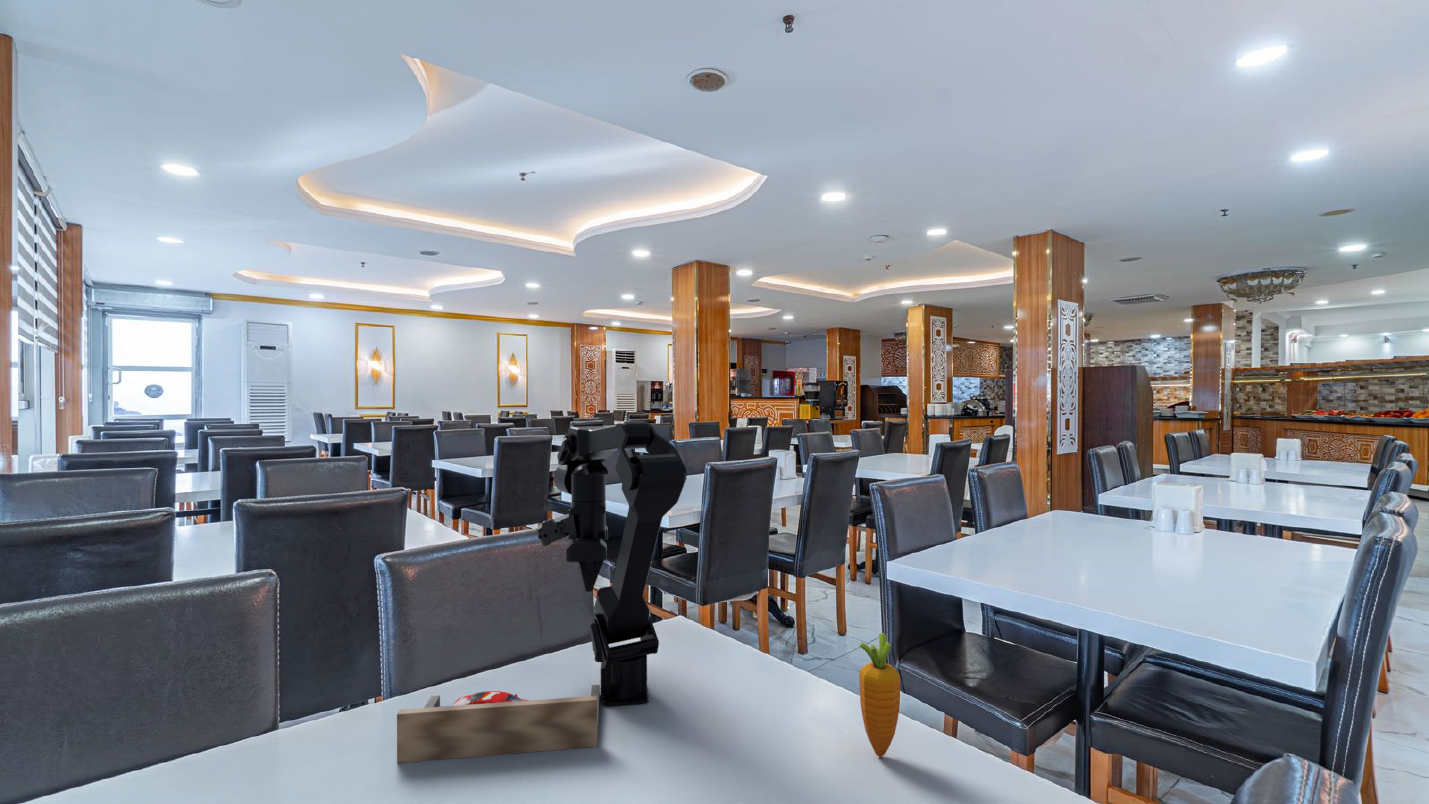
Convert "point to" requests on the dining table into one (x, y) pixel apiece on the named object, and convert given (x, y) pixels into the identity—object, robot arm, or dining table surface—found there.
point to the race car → (488, 698)
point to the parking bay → (497, 728)
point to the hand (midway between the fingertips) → (589, 591)
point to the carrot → (879, 696)
